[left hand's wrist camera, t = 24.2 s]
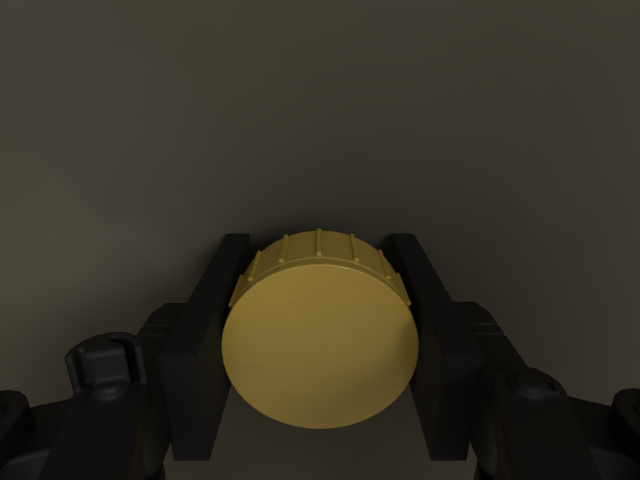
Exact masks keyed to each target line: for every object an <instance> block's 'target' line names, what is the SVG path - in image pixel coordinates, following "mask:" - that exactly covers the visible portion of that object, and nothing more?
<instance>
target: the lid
mask: <svg viewBox="0 0 640 480" xmlns="http://www.w3.org/2000/svg"><path fill="white" fill-rule="evenodd" d="M409 305H411V302H410V299H409V297H408V294H407V292H406V289H405V286H404V284H403V281H402V279H401V276H400V274H399V273H395V271H394V269H393V268H392V266H391V265H390V263H389V262H388V261H387V260H386V259H385V257H384V256H383V253H382V251H381V250H380V249H379V250H378V251H377V250H376V249H375V248H373V247H372V246H370V245H369V244H367V243H366V242H364V241H362V240H360V239H358V238H355V236H354V234H350V235H347V234H343V233H338V232H333V231H321V229H317V231H308V232H302V233H297V234H294V235H291V236H288V234H287V235H284V238H283V239H281V240H278V241H276V242H275V243H273V244H272V245H270V246H268V247H267V248H266V249H264V250H263V251H262V252H260V251H258V252H257V253H256V256H255V259H254V260H253V261H252V262H251V264H250V265H249V267H248V268H247V269H246V271H245V273H244V275H240V277H239V279H238V282H237V284H236V287H235V290H234V292H233V295H232V297H231V300H230V302H229V305H228V307H230V308H231V309H230V311H229V314H228V317H227V319H226V322H225V325H224V329H223V334H222V340H221V345H222V357H223V363H224V366H225V370H226V373H227V375H228V377H229V379H230V381H231V383H232V384H233V386H234V387H235V389H236V390H237V392H238V393H239V394H240V395H241V396H242V397H243V398H244V400H246V401H247V402H248V403H249V404H250V405H251V406H252V407H254V408H255V409H257V410H258V411H260V412H261V413H263V414H264V415H266V416H268V417H270V418H272V419H274V420H277V421H280V422H282V423H285V424H289V425H292V426H297V427H303V428H313V429H329V428H337V427H343V426H348V425H352V424H355V423H358V422H361V421H363V420H366V419H368V418H370V417H372V416H374V415H376V414H377V413H379V412H381V411H382V410H384V409H385V408H386V407H388V406H389V405H390V404H391V403H393V402H394V401H395V400H396V399H397V398H398V397H399V395H400V394H401V393H402V392H403V390H404V389H405V388H406V386H407V385H408V383H409V381H410V380H411V378H412V376H413V373H414V370H415V368H416V365H417V360H418V351H419V337H418V331H417V327H416V324H415V321H414V318H413V316H412V313H411V310H410V308H409Z"/></svg>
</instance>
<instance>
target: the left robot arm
mask: <svg viewBox="0 0 640 480" xmlns="http://www.w3.org/2000/svg"><path fill="white" fill-rule="evenodd" d="M389 263H390V265H391V266H392V268H393V269H394V271H395V273H399V274H400V276H401V279H402V281H403V284H404V286H405V289H406V292H407V294H408V297H409V299H410V302H411V305H409V308H410V310H411V313H412V316H413V318H414V321H415V324H416V327H417V331H418V337H419V351H418V360H417V365H416V368H415V370H414V373H413V376H412V378H411V380H410V381H409V385H410V388H411V392H412V395H413V399H414V402H415V406H416V409H417V413H418V416H419V420H420V423H421V427H422V430H423V434H424V437H425V441H426V444H427V448H428V451H429V455H430V458H431V461H466V459H467V453H468V448H469V442H471V445H472V447H473V450H474V452H475V454H476V457H477V465H476V470H475V475H474V480H640V389H635V388H630V389H624V390H620V391H619V392H618V393H617V394H616V395H615V396H614V399H613V402H612V405H611V406H608V405H604V404H599V403H594V402H590V401H585V400H581V399H577V398H573V397H570V396H567V393H566V392H565V390H564V389H563V387H562V386H561V385H560V383H559V382H557V381H556V380H555V379H553V378H552V377H551V376H550V375H548V374H546V373H543V372H541V371H539V370H537V369H534V368H530V367H527V365H526V364H525V362H524V361H523V359H522V358H521V357H520V355H519V354H518V352H517V351H516V350H515V348H514V347H513V345H512V344H511V342H510V341H509V340H508V338H507V337H506V336H504V333H503V331H502V330H501V328H500V327H499V326H497V323H496V321H495V320H494V318H493V317H492V316H491V314H490V313H489V312H488V311H487V310H485V309H484V308H482V307H481V306H480V305H478V304H477V303H475V302H453V301H452V299H451V298H450V296H449V294H448V292H447V291H446V289H445V287H444V286H443V284H442V282H441V280H440V279H439V277H438V275H437V273H436V272H435V270H434V268H433V267H432V265H431V263H430V261H429V260H428V258H427V256H426V255H425V253H424V251H423V249H422V248H421V246H420V244H419V242H418V241H417V239H416V237H415V236H414V234H391V245H390V260H389ZM250 264H251V253H250V238H249V234H227V235H226V236H225V238H224V240H223V242H222V243H221V245H220V247H219V248H218V250H217V252H216V254H215V255H214V257H213V259H212V260H211V262H210V264H209V266H208V267H207V269H206V271H205V273H204V274H203V276H202V278H201V279H200V281H199V283H198V285H197V286H196V288H195V290H194V291H193V293H192V295H191V297H190V298H189V300H188V302H187V303H166V304H164V305H163V306H162V307H160V308H159V309H157V310H156V311H154V312H153V313H152V314H151V315H150V317H149V318H148V319H147V321H146V322H145V324H144V327H142V328H141V329H140V331H139V332H138V334H137V337H136V336H135V335H134V334H130V333H126V332H110V333H105V334H101V335H96V336H94V337H92V338H89V339H87V340H84V341H82V342H81V343H79V344H78V345H76V346H75V347H73V348H72V349H71V350H70V351H69V352H68V353H67V355H66V356H65V357H64V358H65V362H66V366H67V369H68V373H69V377H70V380H71V384H72V388H73V391H74V394H73V397H72V398H70V399H67V400H63V401H59V402H54V403H50V404H45V405H40V406H36V407H31V408H30V407H29V403H28V400H27V397H26V396H25V395H23V394H22V393H21V392H19V391H12V390H4V391H0V480H165V478H166V477H165V470H164V465H163V460H164V458H165V455H166V453H167V450H168V448H169V445H170V443H171V446H172V451H173V457H174V461H209V459H210V456H211V452H212V449H213V445H214V442H215V439H216V435H217V432H218V428H219V425H220V421H221V418H222V414H223V411H224V407H225V404H226V400H227V397H228V393H229V390H230V386H231V381H230V379H229V377H228V375H227V373H226V370H225V366H224V363H223V357H222V345H221V340H222V334H223V329H224V325H225V322H226V319H227V317H228V314H229V311H230V309H231V308H230V307H228V305H229V302H230V300H231V297H232V295H233V292H234V290H235V287H236V284H237V282H238V279H239V277H240V275H244V273H245V271H246V269H247V268H248V267H249V265H250Z"/></svg>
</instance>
